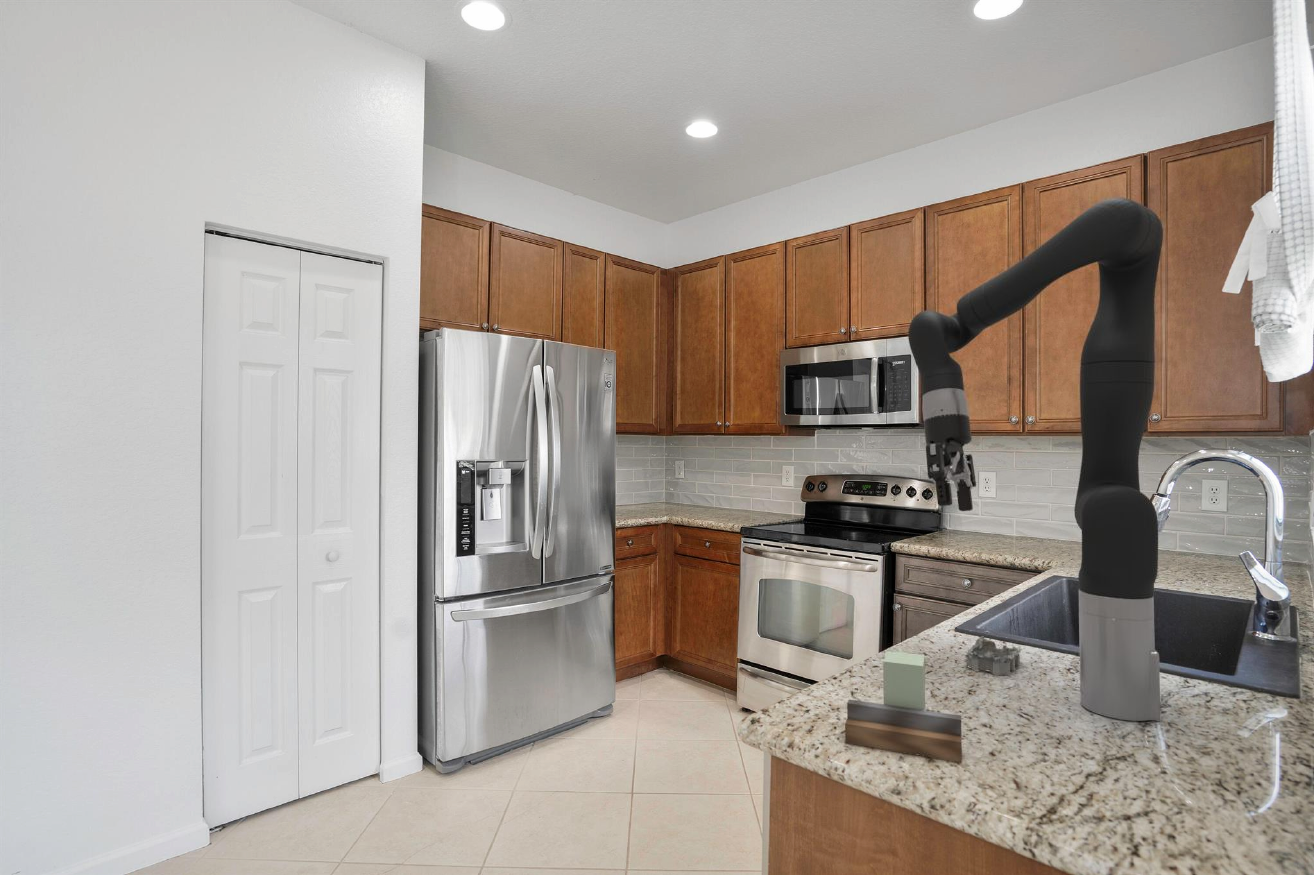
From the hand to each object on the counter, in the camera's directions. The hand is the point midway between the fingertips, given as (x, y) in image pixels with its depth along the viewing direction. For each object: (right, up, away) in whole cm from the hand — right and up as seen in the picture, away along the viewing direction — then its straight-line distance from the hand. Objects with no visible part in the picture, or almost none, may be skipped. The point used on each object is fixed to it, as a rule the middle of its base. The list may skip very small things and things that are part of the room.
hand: (955, 508), depth 116 cm
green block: (-18, -28, -25) cm, 42 cm away
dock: (-18, -28, -26) cm, 42 cm away
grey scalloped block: (+8, -29, +3) cm, 30 cm away
